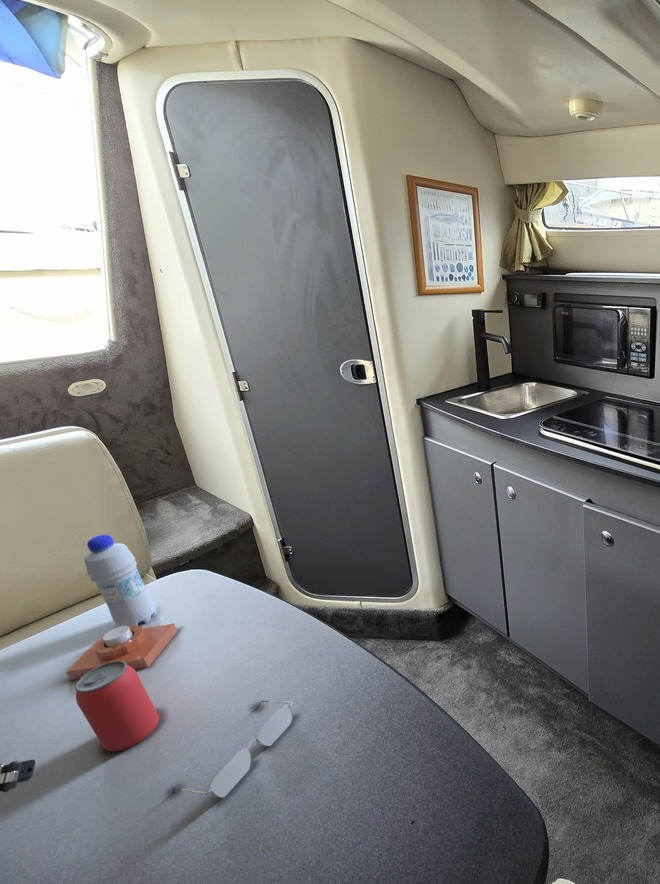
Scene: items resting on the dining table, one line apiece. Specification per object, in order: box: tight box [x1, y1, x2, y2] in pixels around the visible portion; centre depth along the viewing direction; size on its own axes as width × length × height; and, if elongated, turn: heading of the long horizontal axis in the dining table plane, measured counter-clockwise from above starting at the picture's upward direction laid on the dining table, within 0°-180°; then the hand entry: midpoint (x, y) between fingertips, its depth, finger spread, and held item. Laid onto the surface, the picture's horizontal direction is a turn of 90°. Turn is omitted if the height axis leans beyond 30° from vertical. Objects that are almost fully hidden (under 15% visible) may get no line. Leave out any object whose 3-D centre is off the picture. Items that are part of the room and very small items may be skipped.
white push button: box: [103, 626, 133, 647], centre depth 89 cm, size 4×4×2 cm
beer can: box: [74, 661, 160, 752], centre depth 74 cm, size 7×7×12 cm
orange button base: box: [65, 623, 178, 681], centre depth 90 cm, size 12×9×4 cm
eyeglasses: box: [172, 700, 293, 798], centre depth 72 cm, size 14×8×4 cm, turn 166°
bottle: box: [83, 534, 157, 627], centre depth 96 cm, size 7×7×20 cm
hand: (26, 770), depth 60 cm, fingers closed
